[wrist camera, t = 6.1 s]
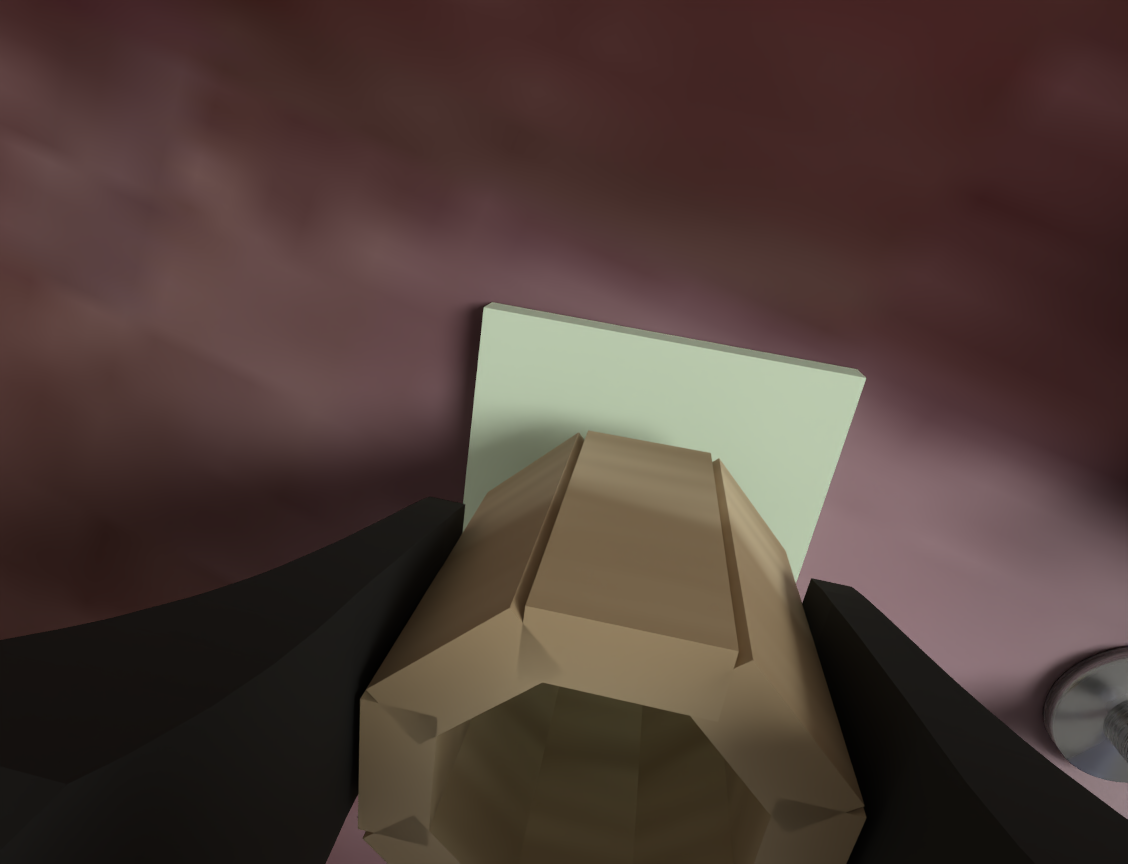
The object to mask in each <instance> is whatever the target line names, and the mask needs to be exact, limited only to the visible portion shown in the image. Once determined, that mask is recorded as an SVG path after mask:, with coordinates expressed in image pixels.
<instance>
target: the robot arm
mask: <svg viewBox="0 0 1128 864" xmlns="http://www.w3.org/2000/svg"><path fill="white" fill-rule="evenodd" d="M464 514H465V504H461V503H457V502H452V501H447V500H443V499H438V498H433V497H428V498H425V499H423V500H421V501H419V502H416V503H414V504H412V505H410V506H408V507H406V508H404V509H402V510H400V511H398V512H396V513H394V514H392V515H390V516H388V517H387V518H385V519H383V520H381V521H379V522H377V523H375V524H373V525H371V526H368V527H366V528H364V529H362V530H360V531H358V532H356V533H354V534H352V535H350V536H348V537H346V538H344V539H342V540H340V541H338V542H336V543H333V544H331V545H329V546H326V547H324V548H322V549H319V550H317V551H315V552H312V553H310V554H308V555H306V556H303V557H301V558H299V559H296V560H294V561H292V562H289V563H287V564H285V565H283V566H280V567H278V568H275V569H272V570H270V571H267V572H265V573H262V574H259V575H256V576H254V577H251V578H248V579H246V580H243V581H240V582H237V583H234V584H231V585H228V586H225V587H222V588H219V589H216V590H212V591H209V592H206V593H203V594H200V595H196V596H193V597H190V598H186V599H182V600H178V601H175V602H171V603H167V604H163V605H159V606H156V607H152V608H148V609H144V610H140V611H137V612H133V613H129V614H125V615H122V616H118V617H114V618H110V619H105V620H101V621H96V622H91V623H87V624H82V625H77V626H73V627H68V628H63V629H58V630H53V631H48V632H42V633H37V634H32V635H26V636H21V637H15V638H10V639H4V640H0V864H325V863H326V861H327V859H328V857H329V855H330V852H331V850H332V848H333V846H334V843H335V841H336V839H337V837H338V835H339V832H340V830H341V828H342V826H343V823H344V821H345V819H346V817H347V815H348V813H349V811H350V809H351V807H352V805H353V803H354V801H355V799H356V797H357V795H358V793H359V741H360V698H361V697H362V695H363V694H364V692H365V690H366V689H367V687H368V685H369V684H370V682H371V681H372V679H373V677H374V676H375V674H376V672H377V671H378V669H379V668H380V666H381V664H382V663H383V661H384V659H385V658H386V656H387V655H388V653H389V651H390V650H391V648H392V646H393V645H394V643H395V642H396V640H397V638H398V637H399V635H400V634H401V632H402V630H403V629H404V627H405V625H406V624H407V622H408V621H409V619H410V617H411V616H412V614H413V612H414V611H415V609H416V608H417V606H418V604H419V603H420V601H421V599H422V598H423V596H424V595H425V593H426V591H427V590H428V588H429V586H430V585H431V583H432V582H433V580H434V578H435V577H436V575H437V574H438V572H439V571H440V569H441V568H442V566H443V565H444V563H445V561H446V560H447V558H448V556H449V555H450V553H451V551H452V550H453V548H454V546H455V545H456V543H457V542H458V540H459V538H460V537H461V535H462V532H463V523H464ZM802 605H803V608H804V612H805V615H806V618H807V621H808V625H809V628H810V631H811V634H812V637H813V641H814V644H815V647H816V650H817V654H818V657H819V660H820V663H821V666H822V670H823V673H824V676H825V679H826V683H827V686H828V689H829V692H830V695H831V699H832V702H833V705H834V708H835V712H836V715H837V718H838V721H839V724H840V728H841V731H842V734H843V737H844V741H845V744H846V747H847V750H848V754H849V757H850V760H851V763H852V766H853V770H854V773H855V776H856V779H857V783H858V786H859V789H860V792H861V795H862V799H863V802H864V805H865V806H863V808H864V811H865V814H866V820H865V822H864V825H863V827H862V829H861V832H860V834H859V836H858V838H857V841H856V843H855V845H854V847H853V850H852V852H851V854H850V856H849V859H848V861H847V863H846V864H1128V819H1126V818H1125V817H1123V816H1122V815H1121V814H1119V813H1118V812H1116V811H1115V810H1114V809H1112V808H1111V807H1110V806H1108V805H1107V804H1106V803H1104V802H1103V801H1102V800H1100V799H1099V798H1098V797H1096V796H1095V795H1094V794H1092V793H1091V792H1090V791H1088V790H1087V789H1086V788H1084V787H1083V786H1082V785H1080V784H1079V783H1078V782H1076V781H1075V780H1074V779H1072V778H1071V777H1070V776H1068V775H1067V774H1066V773H1064V772H1063V771H1062V770H1060V769H1059V768H1058V767H1057V766H1055V765H1054V764H1053V763H1051V762H1050V761H1049V760H1048V759H1046V758H1045V757H1044V756H1043V755H1041V754H1040V753H1039V752H1038V751H1036V750H1035V749H1034V748H1033V747H1031V746H1030V745H1029V744H1028V743H1027V742H1025V741H1024V740H1023V739H1022V738H1021V737H1019V736H1018V735H1017V734H1016V733H1015V732H1013V731H1012V730H1011V729H1010V728H1009V727H1008V726H1006V725H1005V724H1004V723H1003V722H1002V721H1000V720H999V719H998V718H997V717H996V716H995V715H993V714H992V713H991V712H990V711H989V710H987V709H986V708H985V707H984V706H983V705H982V704H981V703H979V702H978V701H977V700H976V699H975V698H974V697H973V696H971V695H970V694H969V693H968V692H967V691H966V690H965V689H964V688H962V687H961V686H960V685H959V684H958V683H957V682H956V681H955V680H954V679H953V678H951V677H950V676H949V675H948V674H947V673H946V672H945V671H944V670H943V669H942V668H941V667H939V666H938V665H937V664H936V663H935V662H934V661H933V660H932V659H931V658H930V657H929V656H928V655H927V654H925V653H924V652H923V651H922V650H921V649H920V648H919V647H918V646H917V645H916V644H915V643H914V642H913V641H912V640H911V639H909V638H908V637H907V636H906V635H905V634H904V633H903V632H902V631H901V630H900V629H899V628H898V627H897V626H896V625H895V624H894V623H892V622H891V621H890V620H889V619H888V618H887V617H886V616H885V615H884V614H883V613H882V612H881V611H880V610H878V609H877V608H876V607H875V606H874V605H873V604H872V603H871V602H870V601H868V600H867V599H866V598H865V597H864V596H863V595H861V594H860V593H859V592H858V591H856V590H855V589H854V588H852V587H850V586H845V585H841V584H836V583H831V582H826V581H822V580H817V579H812V578H811V581H810V583H809V586H808V589H807V592H806V595H805V598H804V600H803V603H802Z"/></svg>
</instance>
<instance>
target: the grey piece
mask: <svg viewBox="0 0 1128 864" xmlns="http://www.w3.org/2000/svg"><path fill="white" fill-rule="evenodd" d="M1043 717H1044V724H1045V727H1046V730H1047V732H1048V734H1049V736H1050V737H1051V739H1052V740H1053V742H1054V743H1055V744H1056V746H1057V747H1058V749H1059V750H1060V752H1061V753H1062V754H1063V756H1064V757H1065V758H1066V759H1067V760H1068V761H1069V762H1070V763H1071V764H1073V765H1074V766H1075V767H1077V768H1078V769H1080V770H1082V771H1083V772H1085V773H1087V774H1090V775H1092V776H1095V777H1098V778H1101V779H1105V780H1110V781H1115V782H1125V783H1128V647H1124V648H1118V649H1113V650H1109V651H1106V652H1103V653H1099V654H1097V655H1094V656H1092V657H1090V658H1087V659H1085V660H1084V661H1082V662H1080V663H1078V664H1076V665H1075V666H1074V667H1072V668H1071V669H1069V670H1068V671H1067V672H1066V673H1065V674H1063V675H1062V676H1061V677H1060V678H1059V679H1058V681H1057V682H1056V683H1055V684H1054V685H1053V687H1052V688H1051V690H1050V692H1049V694H1048V696H1047V698H1046V701H1045V705H1044V712H1043Z"/></svg>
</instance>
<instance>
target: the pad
mask: <svg viewBox="0 0 1128 864" xmlns="http://www.w3.org/2000/svg"><path fill="white" fill-rule="evenodd" d="M865 380H866V377H865V376H864V375H863V374H861V373H860V372H859V371H858V370H857V369H853V368H847V367H842V366H836V365H831V364H825V363H820V362H815V361H809V360H804V359H798V358H793V357H787V356H782V355H777V354H771V353H766V352H760V351H755V350H749V349H744V348H739V347H733V346H728V345H722V344H717V343H711V342H706V341H701V340H695V339H690V338H684V337H679V336H673V335H668V334H662V333H657V332H652V331H646V330H641V329H635V328H630V327H624V326H619V325H614V324H608V323H603V322H597V321H592V320H586V319H581V318H576V317H570V316H565V315H559V314H554V313H548V312H543V311H538V310H532V309H527V308H521V307H516V306H510V305H505V304H499V303H494V302H491V303H490V304H488V305H487V306H485V307H484V310H483V319H482V329H481V338H480V348H479V357H478V367H477V376H476V386H475V395H474V405H473V414H472V424H471V433H470V443H469V452H468V462H467V471H466V481H465V490H464V500H463V504H465V514H464V523H463V531H464V530H465V528H466V527H467V525H468V523H469V522H470V520H471V518H472V517H473V515H474V514H475V512H476V510H477V509H478V507H479V505H480V504H481V502H482V501H483V499H484V497H485V496H486V494H487V492H489V491H490V490H492V489H493V488H495V487H496V486H498V485H499V484H501V483H502V482H504V481H505V480H507V479H508V478H510V477H511V476H513V475H514V474H516V473H518V472H519V471H521V470H522V469H524V468H525V467H527V466H528V465H530V464H531V463H533V462H534V461H536V460H537V459H539V458H540V457H542V456H543V455H545V454H546V453H548V452H549V451H551V450H552V449H554V448H555V447H557V446H559V445H560V444H562V443H563V442H565V441H566V440H568V439H569V438H571V437H572V436H574V435H575V434H577V433H578V432H579V433H580V434H581V436H582V437H583V438H584V440H585V437H586V435H587V432H588V430H589V431H594V432H600V433H605V434H611V435H616V436H622V437H627V438H632V439H638V440H643V441H649V442H654V443H660V444H665V445H671V446H676V447H681V448H687V449H692V450H698V451H703V452H709V453H711V457H712V462H713V461H715V460H717V459H718V458H719V459H720V460H721V461H722V463H723V464H724V465H725V467H726V468H727V470H728V471H729V472H730V474H731V475H732V477H733V478H734V479H735V481H736V482H737V484H738V485H739V486H740V488H741V489H742V491H743V492H744V493H745V495H746V496H747V498H748V499H749V500H750V502H751V503H752V505H753V506H754V507H755V509H756V510H757V512H758V513H759V514H760V516H761V517H762V518H763V520H764V521H765V523H766V524H767V525H768V527H769V528H770V530H771V531H772V532H773V534H774V535H775V537H776V538H777V539H778V541H779V542H780V544H781V545H782V546H783V548H784V549H785V551H786V554H787V557H788V560H789V563H790V566H791V570H792V573H793V576H794V579H795V583H796V581H797V579H798V576H799V573H800V570H801V567H802V564H803V561H804V558H805V555H806V552H807V549H808V546H809V544H810V541H811V538H812V535H813V532H814V529H815V526H816V523H817V520H818V517H819V514H820V511H821V509H822V506H823V503H824V500H825V497H826V494H827V491H828V488H829V485H830V482H831V479H832V476H833V474H834V471H835V468H836V465H837V462H838V459H839V456H840V453H841V450H842V447H843V444H844V441H845V439H846V436H847V433H848V430H849V427H850V424H851V421H852V418H853V415H854V412H855V409H856V406H857V404H858V401H859V398H860V395H861V392H862V389H863V386H864V383H865ZM462 533H463V532H462Z"/></svg>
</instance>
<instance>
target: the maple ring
mask: <svg viewBox="0 0 1128 864" xmlns="http://www.w3.org/2000/svg"><path fill="white" fill-rule="evenodd" d="M863 806H865V805H864V802H863V799H862V795H861V792H860V789H859V786H858V783H857V779H856V776H855V773H854V770H853V766H852V763H851V760H850V757H849V754H848V750H847V747H846V744H845V741H844V737H843V734H842V731H841V728H840V724H839V721H838V718H837V715H836V712H835V708H834V705H833V702H832V699H831V695H830V692H829V689H828V686H827V683H826V679H825V676H824V673H823V670H822V666H821V663H820V660H819V657H818V654H817V650H816V647H815V644H814V641H813V637H812V634H811V631H810V628H809V625H808V621H807V618H806V615H805V612H804V608H803V605H802V602H801V599H800V595H799V592H798V589H797V586H796V583H795V579H794V576H793V573H792V570H791V566H790V563H789V560H788V557H787V554H786V551H785V549H784V548H783V546H782V545H781V544H780V542H779V541H778V539H777V538H776V537H775V535H774V534H773V532H772V531H771V530H770V528H769V527H768V525H767V524H766V523H765V521H764V520H763V518H762V517H761V516H760V514H759V513H758V512H757V510H756V509H755V507H754V506H753V505H752V503H751V502H750V500H749V499H748V498H747V496H746V495H745V493H744V492H743V491H742V489H741V488H740V486H739V485H738V484H737V482H736V481H735V479H734V478H733V477H732V475H731V474H730V472H729V471H728V470H727V468H726V467H725V465H724V464H723V463H722V461H721V460H720V459H719V458H718V459H717V460H715V461H713V462H712V457H711V453H709V452H703V451H698V450H692V449H687V448H681V447H676V446H671V445H665V444H660V443H654V442H649V441H643V440H638V439H632V438H627V437H622V436H616V435H611V434H605V433H600V432H594V431H589V430H588V432H587V435H586V437H585V440H584V438H583V437H582V436H581V434H580V433H579V432H578V433H577V434H575V435H574V436H572V437H571V438H569V439H568V440H566V441H565V442H563V443H562V444H560V445H559V446H557V447H555V448H554V449H552V450H551V451H549V452H548V453H546V454H545V455H543V456H542V457H540V458H539V459H537V460H536V461H534V462H533V463H531V464H530V465H528V466H527V467H525V468H524V469H522V470H521V471H519V472H518V473H516V474H514V475H513V476H511V477H510V478H508V479H507V480H505V481H504V482H502V483H501V484H499V485H498V486H496V487H495V488H493V489H492V490H490V491H489V492H487V494H486V496H485V497H484V499H483V501H482V502H481V504H480V505H479V507H478V509H477V510H476V512H475V514H474V515H473V517H472V518H471V520H470V522H469V523H468V525H467V527H466V528H465V530H464V531H463V533H462V535H461V537H460V538H459V540H458V542H457V543H456V545H455V546H454V548H453V550H452V551H451V553H450V555H449V556H448V558H447V560H446V561H445V563H444V565H443V566H442V568H441V569H440V571H439V572H438V574H437V575H436V577H435V578H434V580H433V582H432V583H431V585H430V586H429V588H428V590H427V591H426V593H425V595H424V596H423V598H422V599H421V601H420V603H419V604H418V606H417V608H416V609H415V611H414V612H413V614H412V616H411V617H410V619H409V621H408V622H407V624H406V625H405V627H404V629H403V630H402V632H401V634H400V635H399V637H398V638H397V640H396V642H395V643H394V645H393V646H392V648H391V650H390V651H389V653H388V655H387V656H386V658H385V659H384V661H383V663H382V664H381V666H380V668H379V669H378V671H377V672H376V674H375V676H374V677H373V679H372V681H371V682H370V684H369V685H368V687H367V689H366V690H365V692H364V694H363V695H362V697H361V698H360V741H359V796H358V829H361V830H365V831H366V832H365V834H364V836H363V839H364V840H365V841H366V842H367V843H368V844H369V845H370V846H371V847H372V848H373V849H374V850H375V851H376V852H377V853H378V854H379V855H380V856H381V857H382V858H383V859H384V860H385V861H386V862H387V863H388V864H846V863H847V861H848V859H849V856H850V854H851V852H852V850H853V847H854V845H855V843H856V841H857V838H858V836H859V834H860V832H861V829H862V827H863V825H864V822H865V820H866V814H865V811H864V808H863Z"/></svg>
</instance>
